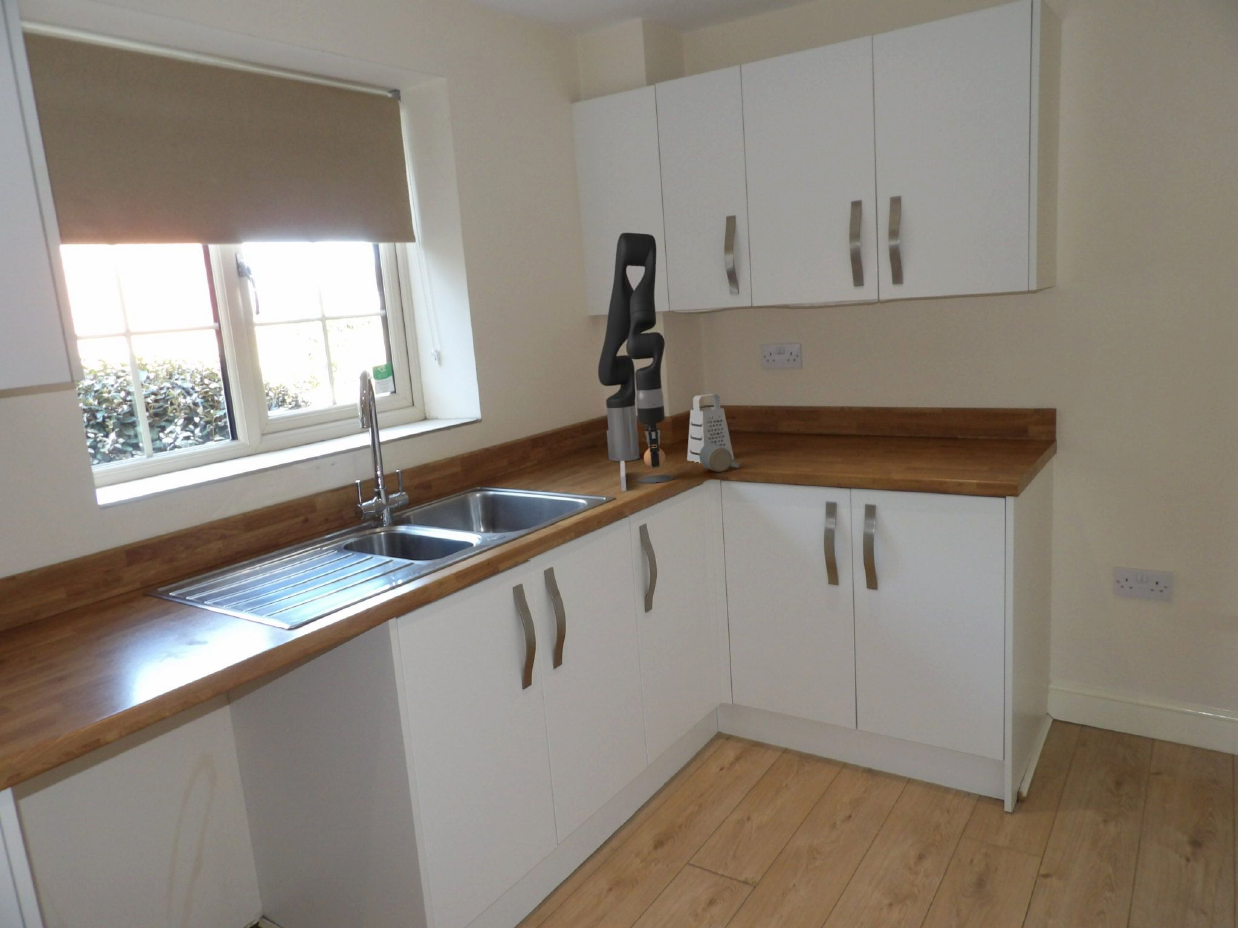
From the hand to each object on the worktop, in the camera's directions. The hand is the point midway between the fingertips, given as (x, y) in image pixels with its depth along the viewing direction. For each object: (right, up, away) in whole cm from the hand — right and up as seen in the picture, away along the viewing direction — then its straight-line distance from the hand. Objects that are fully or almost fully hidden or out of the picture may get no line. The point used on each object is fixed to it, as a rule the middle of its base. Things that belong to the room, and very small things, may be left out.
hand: (655, 464), depth 252 cm
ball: (0, +2, 0) cm, 2 cm away
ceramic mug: (+19, -2, +7) cm, 21 cm away
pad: (0, -4, +1) cm, 4 cm away
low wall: (-9, -5, +1) cm, 10 cm away
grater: (+18, +1, +24) cm, 30 cm away
